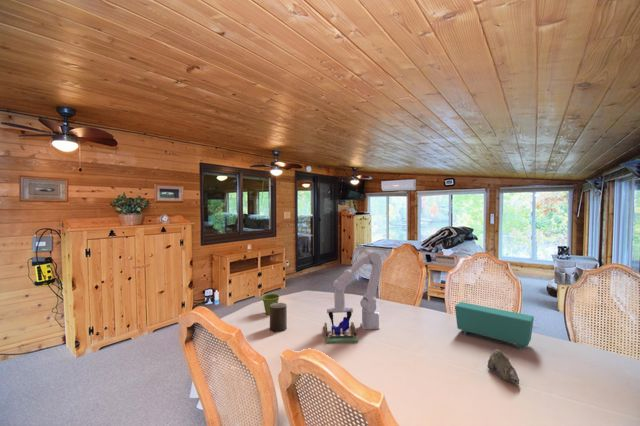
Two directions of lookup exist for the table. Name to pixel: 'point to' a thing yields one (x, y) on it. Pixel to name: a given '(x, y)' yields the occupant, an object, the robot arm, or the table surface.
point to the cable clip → (341, 326)
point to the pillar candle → (278, 317)
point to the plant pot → (269, 301)
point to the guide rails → (351, 326)
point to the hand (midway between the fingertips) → (340, 325)
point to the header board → (342, 338)
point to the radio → (495, 323)
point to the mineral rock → (502, 366)
